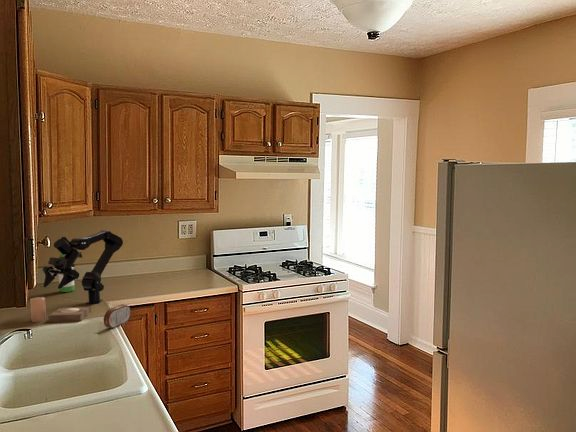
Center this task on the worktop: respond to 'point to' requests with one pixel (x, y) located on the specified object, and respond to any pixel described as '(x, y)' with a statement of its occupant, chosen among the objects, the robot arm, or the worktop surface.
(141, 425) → the worktop surface
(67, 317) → the base
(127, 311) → the tin
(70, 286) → the wine bottle
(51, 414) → the worktop surface
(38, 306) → the column
